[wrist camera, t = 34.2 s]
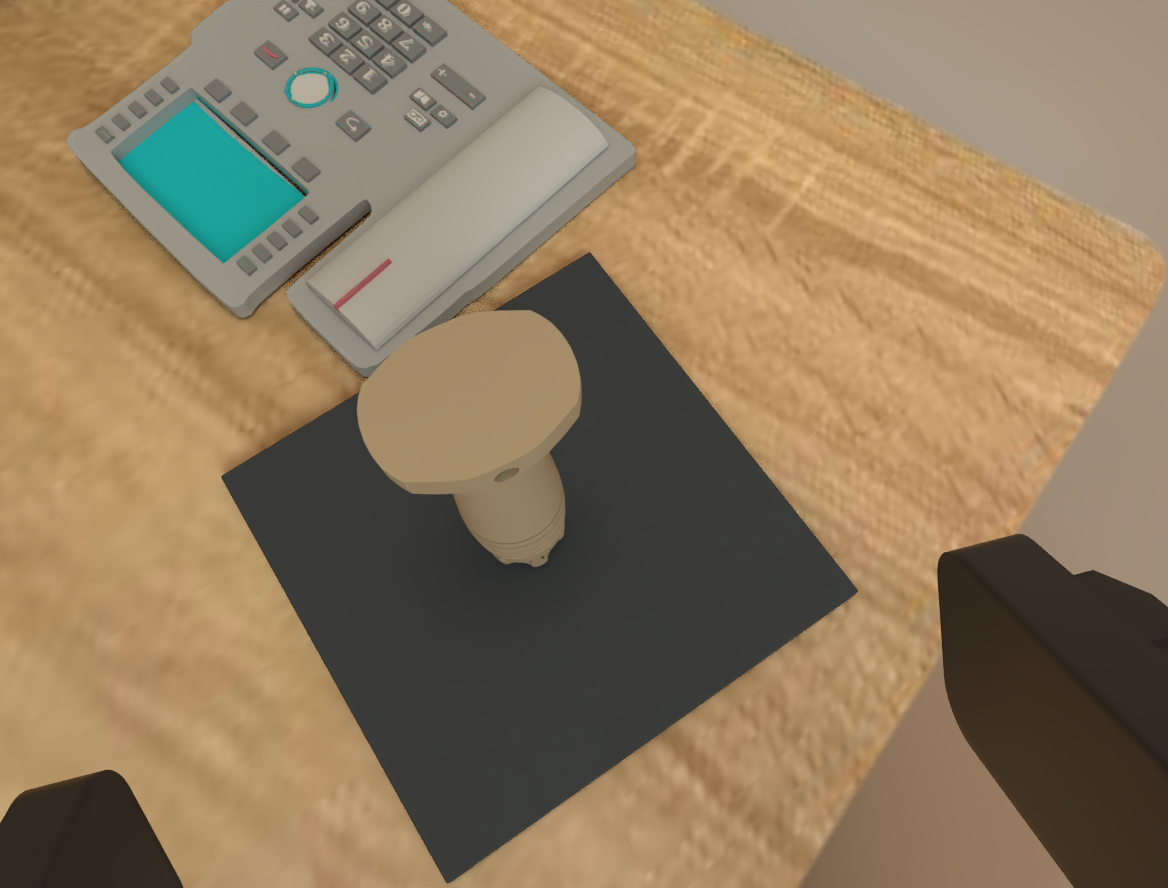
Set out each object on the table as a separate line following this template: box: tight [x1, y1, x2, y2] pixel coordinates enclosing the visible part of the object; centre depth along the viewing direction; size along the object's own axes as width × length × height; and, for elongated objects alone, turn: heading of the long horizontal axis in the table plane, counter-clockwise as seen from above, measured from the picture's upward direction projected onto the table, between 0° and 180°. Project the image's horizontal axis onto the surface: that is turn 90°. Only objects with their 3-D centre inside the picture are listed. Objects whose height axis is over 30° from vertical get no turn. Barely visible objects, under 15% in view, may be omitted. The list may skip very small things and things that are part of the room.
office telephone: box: [67, 0, 636, 378], centre depth 48 cm, size 23×3×20 cm
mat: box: [221, 252, 858, 883], centre depth 41 cm, size 20×20×1 cm
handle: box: [357, 310, 582, 567], centre depth 34 cm, size 5×6×15 cm
